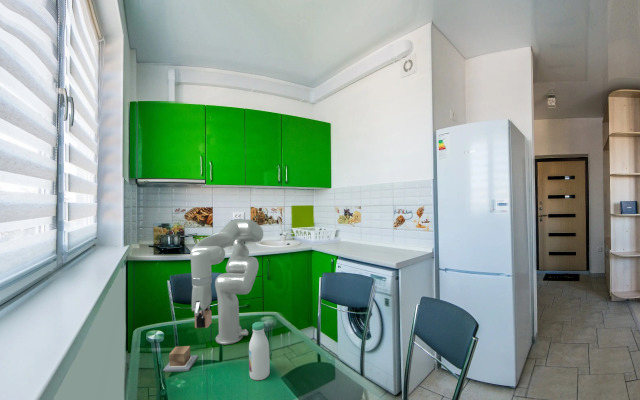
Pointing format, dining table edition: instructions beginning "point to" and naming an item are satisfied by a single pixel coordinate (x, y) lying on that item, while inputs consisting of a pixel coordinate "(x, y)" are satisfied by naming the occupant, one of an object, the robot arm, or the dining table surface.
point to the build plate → (181, 368)
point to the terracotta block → (206, 318)
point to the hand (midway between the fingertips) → (203, 323)
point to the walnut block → (179, 356)
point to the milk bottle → (259, 353)
